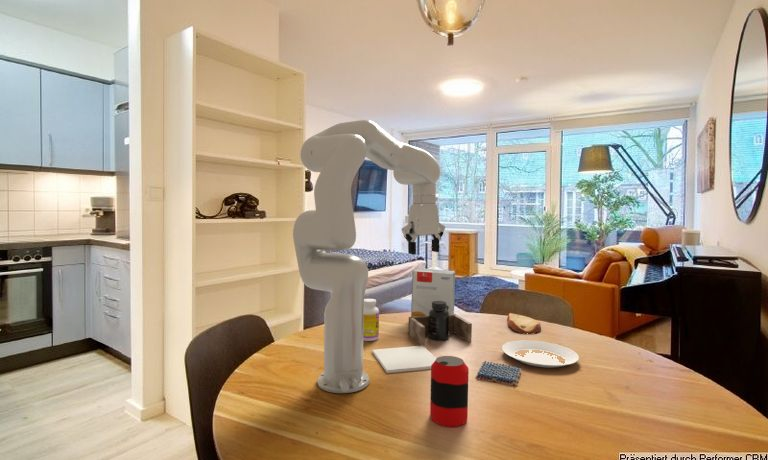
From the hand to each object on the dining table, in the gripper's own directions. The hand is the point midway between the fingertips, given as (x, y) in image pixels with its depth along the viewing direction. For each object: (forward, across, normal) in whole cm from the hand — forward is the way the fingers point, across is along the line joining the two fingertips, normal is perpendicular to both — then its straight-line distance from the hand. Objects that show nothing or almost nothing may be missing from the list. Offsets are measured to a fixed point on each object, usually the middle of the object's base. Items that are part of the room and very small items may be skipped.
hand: (424, 252), depth 134 cm
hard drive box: (+30, -14, -13) cm, 35 cm away
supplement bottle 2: (+29, -4, +2) cm, 29 cm away
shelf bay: (+29, -4, +3) cm, 29 cm away
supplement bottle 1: (+28, +16, -9) cm, 34 cm away
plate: (+29, -17, +32) cm, 47 cm away
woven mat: (+29, +3, +34) cm, 45 cm away
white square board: (+28, +17, +13) cm, 35 cm away
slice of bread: (+31, -40, +7) cm, 51 cm away
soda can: (+27, +29, +44) cm, 59 cm away
